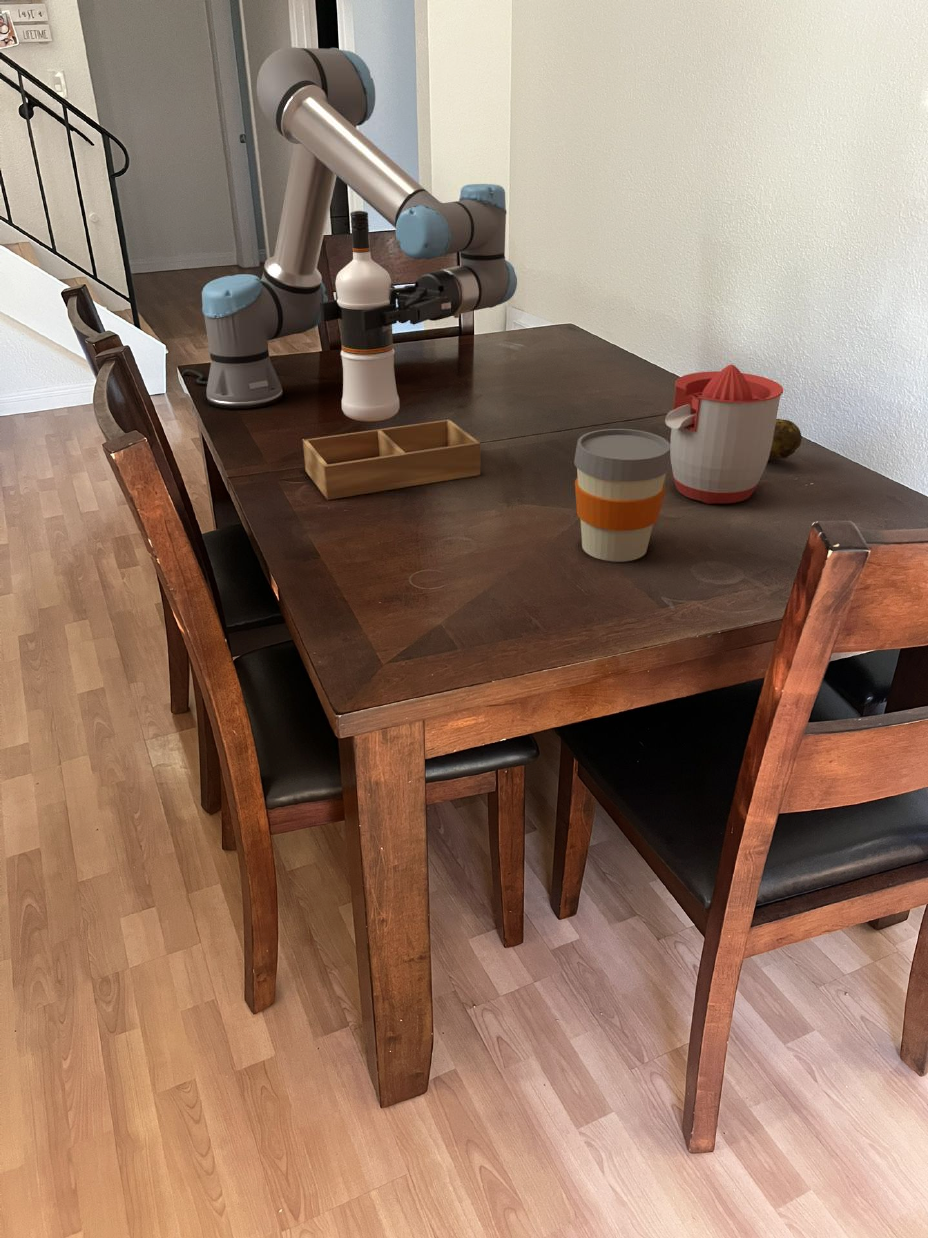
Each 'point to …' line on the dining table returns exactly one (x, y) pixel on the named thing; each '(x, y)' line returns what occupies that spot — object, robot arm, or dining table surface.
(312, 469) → the wooden divided tray
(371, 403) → the vodka
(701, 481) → the citrus juicer
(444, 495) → the dining table surface
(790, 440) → the potato
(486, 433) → the dining table surface
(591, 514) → the reusable coffee cup
